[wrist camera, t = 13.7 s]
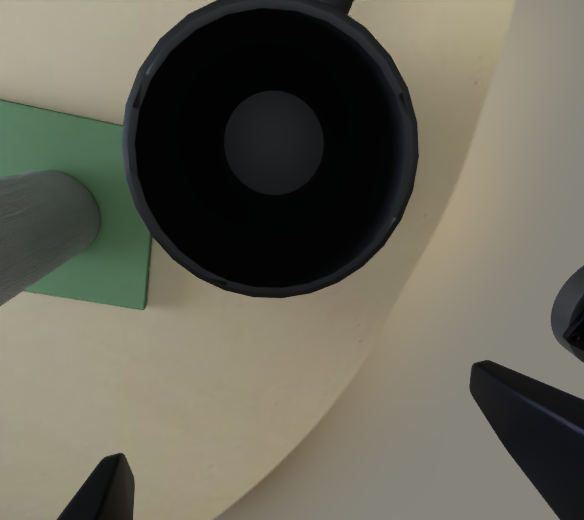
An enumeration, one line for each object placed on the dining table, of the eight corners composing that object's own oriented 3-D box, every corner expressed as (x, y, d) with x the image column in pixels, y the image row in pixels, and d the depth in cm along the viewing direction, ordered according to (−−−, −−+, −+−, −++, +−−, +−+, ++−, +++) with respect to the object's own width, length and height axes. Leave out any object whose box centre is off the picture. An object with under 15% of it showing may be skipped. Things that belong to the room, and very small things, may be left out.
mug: (418, 16, 17) (569, -94, 8) (314, 243, 21) (343, 333, 12) (252, -71, 16) (223, -315, 7) (173, 188, 20) (88, 245, 11)
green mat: (160, 133, 19) (158, 133, 18) (145, 307, 22) (143, 310, 22) (-55, 87, 18) (-62, 87, 17) (-35, 278, 21) (-41, 281, 21)
